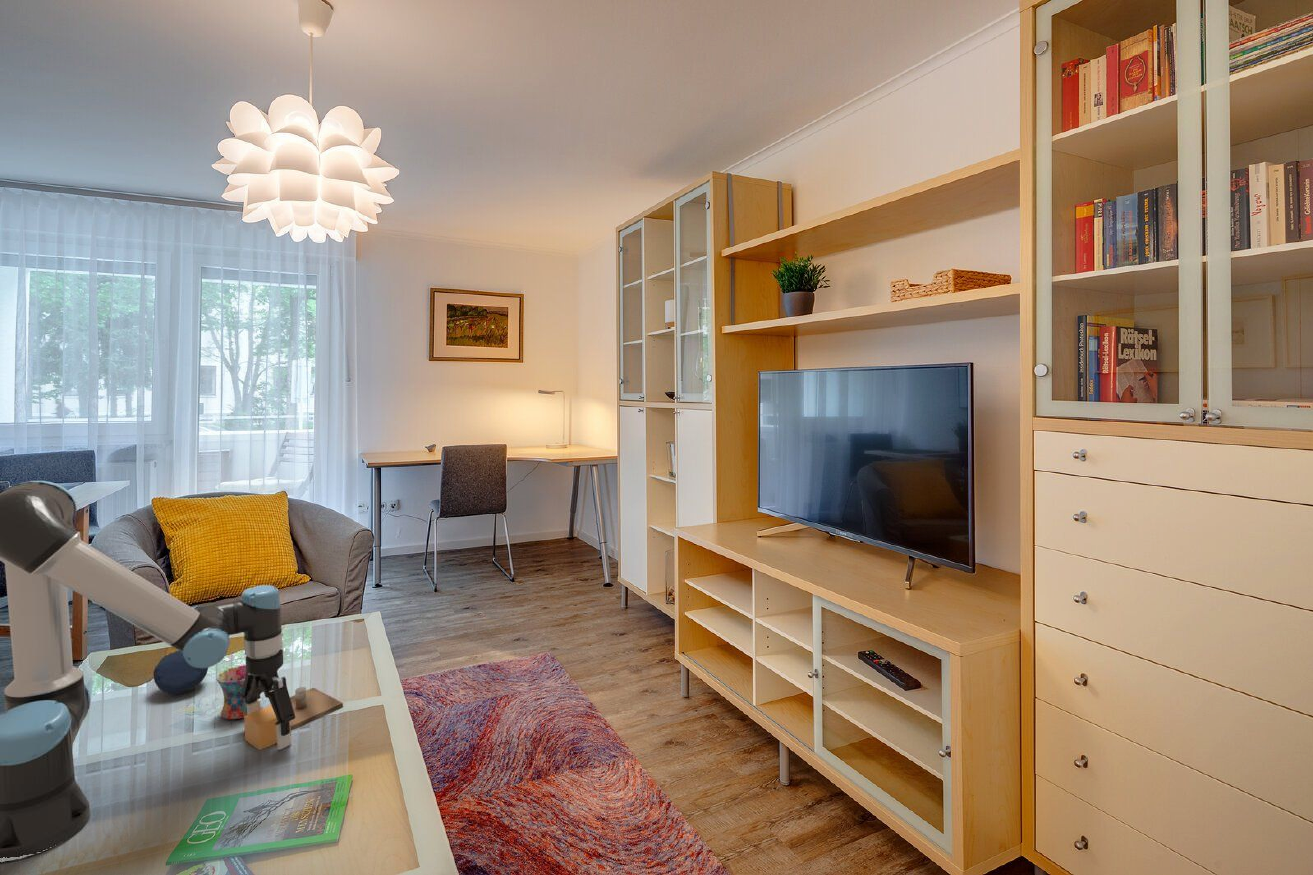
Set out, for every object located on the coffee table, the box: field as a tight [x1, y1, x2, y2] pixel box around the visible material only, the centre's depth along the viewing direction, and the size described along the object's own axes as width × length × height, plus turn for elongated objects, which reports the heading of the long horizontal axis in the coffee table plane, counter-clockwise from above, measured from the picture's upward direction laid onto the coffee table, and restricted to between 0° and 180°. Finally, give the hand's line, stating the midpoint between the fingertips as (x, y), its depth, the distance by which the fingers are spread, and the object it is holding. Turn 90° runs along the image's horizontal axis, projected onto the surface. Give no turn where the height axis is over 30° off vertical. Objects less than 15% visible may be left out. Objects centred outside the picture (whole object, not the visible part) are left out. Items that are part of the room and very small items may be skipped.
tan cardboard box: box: [243, 704, 292, 751], centre depth 152 cm, size 7×7×6 cm
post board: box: [261, 686, 344, 731], centre depth 164 cm, size 14×14×6 cm
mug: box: [216, 664, 264, 720], centre depth 163 cm, size 12×9×11 cm
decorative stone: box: [153, 650, 209, 695], centre depth 173 cm, size 12×12×10 cm
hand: (269, 737), depth 152 cm, fingers open, 13 cm apart
